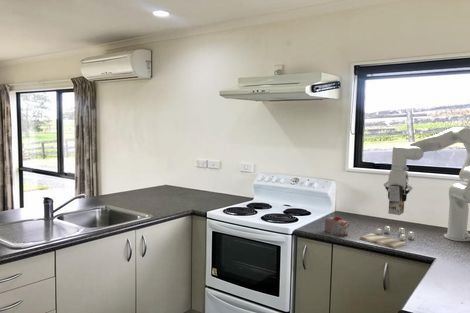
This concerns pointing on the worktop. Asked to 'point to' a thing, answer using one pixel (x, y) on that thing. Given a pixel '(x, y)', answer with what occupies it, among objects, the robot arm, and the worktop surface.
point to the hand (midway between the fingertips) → (396, 199)
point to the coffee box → (396, 200)
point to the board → (383, 240)
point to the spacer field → (401, 233)
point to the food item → (336, 226)
